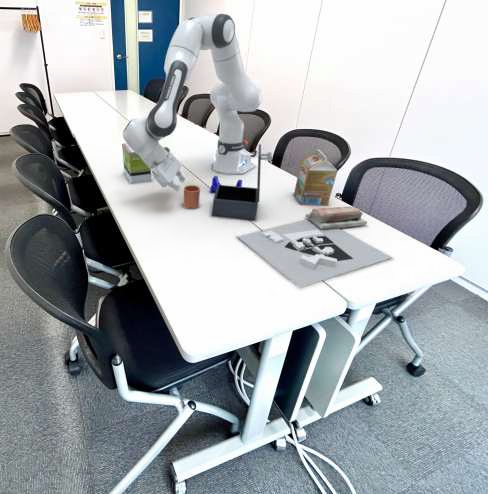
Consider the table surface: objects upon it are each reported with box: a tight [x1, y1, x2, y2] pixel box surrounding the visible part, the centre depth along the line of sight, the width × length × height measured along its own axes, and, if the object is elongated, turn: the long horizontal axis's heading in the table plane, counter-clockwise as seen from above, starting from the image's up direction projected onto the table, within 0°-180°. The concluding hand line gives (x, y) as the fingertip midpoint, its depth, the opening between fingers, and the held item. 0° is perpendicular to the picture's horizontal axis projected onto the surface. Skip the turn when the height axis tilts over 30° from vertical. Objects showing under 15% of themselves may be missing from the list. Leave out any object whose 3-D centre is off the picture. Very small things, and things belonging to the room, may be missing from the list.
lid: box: [256, 143, 273, 203], centre depth 119 cm, size 16×15×5 cm
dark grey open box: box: [211, 184, 259, 222], centre depth 127 cm, size 16×15×7 cm
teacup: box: [182, 185, 201, 210], centre depth 131 cm, size 6×6×7 cm
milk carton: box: [293, 149, 338, 206], centre depth 132 cm, size 11×11×19 cm
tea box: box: [121, 142, 152, 185], centre depth 155 cm, size 15×10×15 cm, turn 18°
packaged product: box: [304, 206, 368, 229], centre depth 118 cm, size 18×5×10 cm
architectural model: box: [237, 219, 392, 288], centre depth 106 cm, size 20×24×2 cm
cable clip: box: [210, 175, 243, 194], centre depth 141 cm, size 12×4×6 cm, turn 65°
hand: (181, 185), depth 129 cm, fingers open, 8 cm apart
